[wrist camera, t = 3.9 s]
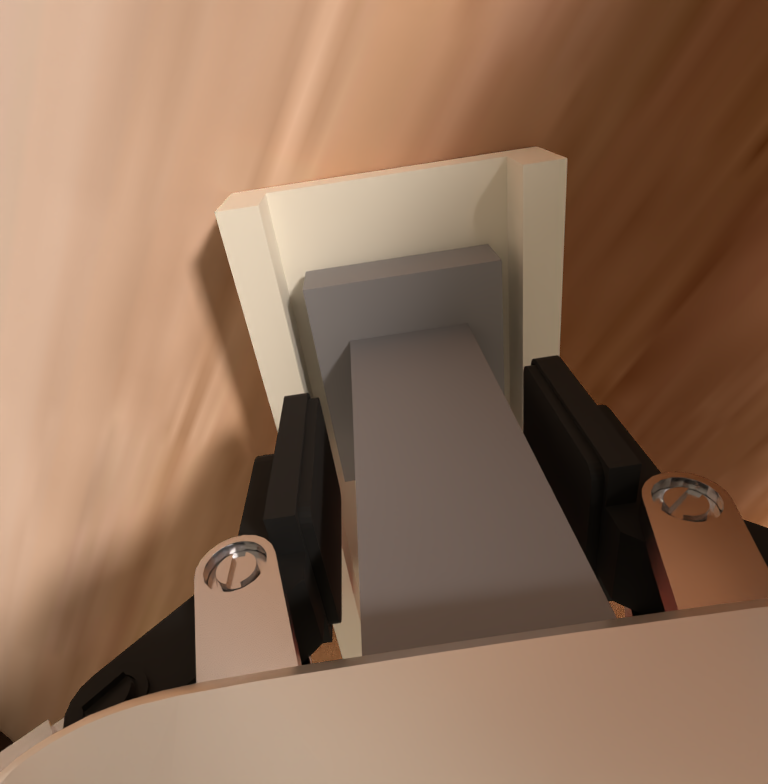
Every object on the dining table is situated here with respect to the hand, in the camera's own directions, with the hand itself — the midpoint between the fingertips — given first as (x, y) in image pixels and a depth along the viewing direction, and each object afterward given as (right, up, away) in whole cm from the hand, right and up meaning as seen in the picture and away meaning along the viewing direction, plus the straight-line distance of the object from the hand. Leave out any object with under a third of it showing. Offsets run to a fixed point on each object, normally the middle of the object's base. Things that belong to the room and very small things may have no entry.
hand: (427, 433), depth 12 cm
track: (0, 0, +6) cm, 6 cm away
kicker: (0, 0, +5) cm, 5 cm away
